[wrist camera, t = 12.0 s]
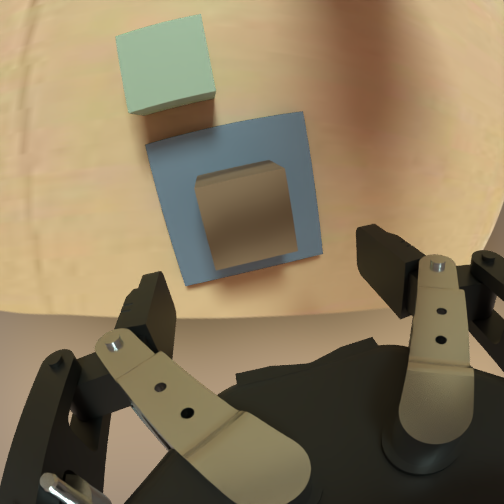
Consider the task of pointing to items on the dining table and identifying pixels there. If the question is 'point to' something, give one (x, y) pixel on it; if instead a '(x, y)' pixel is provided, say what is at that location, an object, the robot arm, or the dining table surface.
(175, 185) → the base board
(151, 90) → the sage green block
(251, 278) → the dining table surface
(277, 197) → the walnut block
